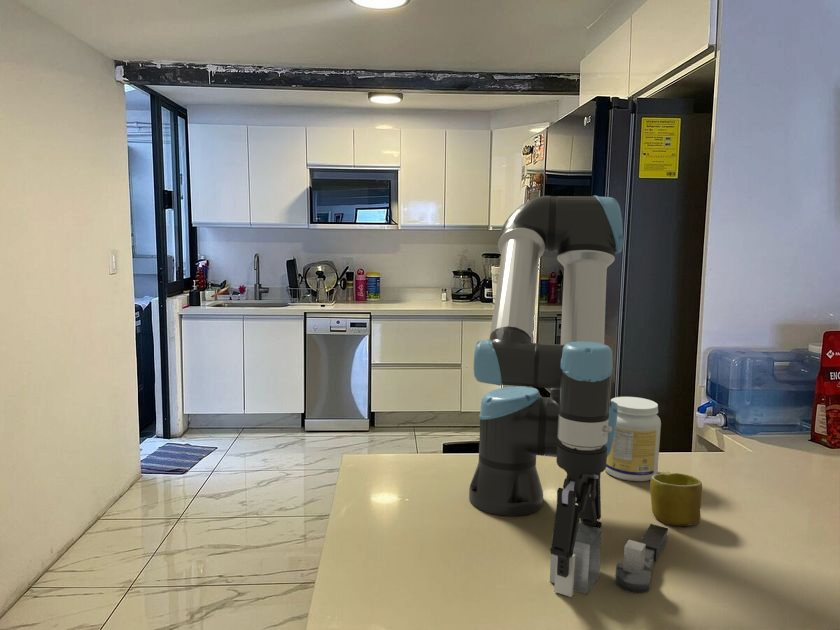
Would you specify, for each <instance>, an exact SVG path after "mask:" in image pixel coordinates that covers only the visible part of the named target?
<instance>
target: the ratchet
mask: <svg viewBox="0 0 840 630" xmlns="http://www.w3.org/2000/svg"><path fill="white" fill-rule="evenodd" d="M668 534H669V528H668V527H666V526H661V525H656V524H653V523H650V525H649V526H648V528H647V529H646V531H645V533H644V534H643V535H642V537H641V539H640V540H639V541H636V540H631V539H628V541H626V543H625V545H624V547H623V548H624V549H623V560H620V561H618V562H617V563H616V565H615V578H614V579H615V581H614V582H615V585H616V586H617V587H619V588H620V589H621V590H622V591H625V592H628V593H632V594H644V593H647V592H649V591H650V589H651V579H652V574H653V571H654V564H655V563H657V561H658V560H659V557H660V556H661V553H662V552H663V550H664V548H665V546H666V544H667V543H668Z"/></svg>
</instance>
